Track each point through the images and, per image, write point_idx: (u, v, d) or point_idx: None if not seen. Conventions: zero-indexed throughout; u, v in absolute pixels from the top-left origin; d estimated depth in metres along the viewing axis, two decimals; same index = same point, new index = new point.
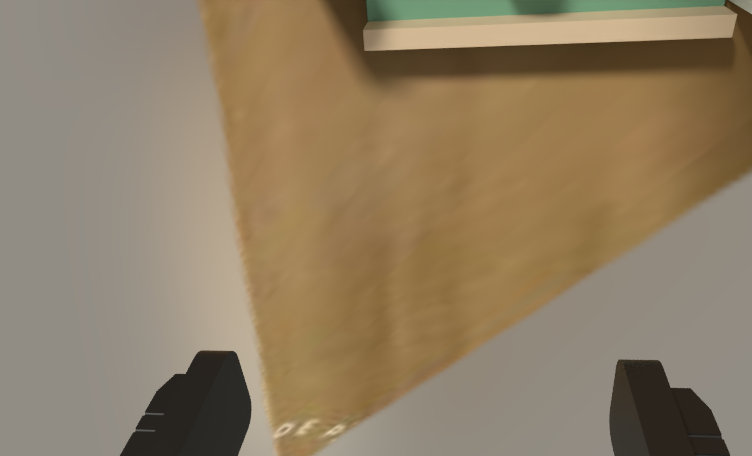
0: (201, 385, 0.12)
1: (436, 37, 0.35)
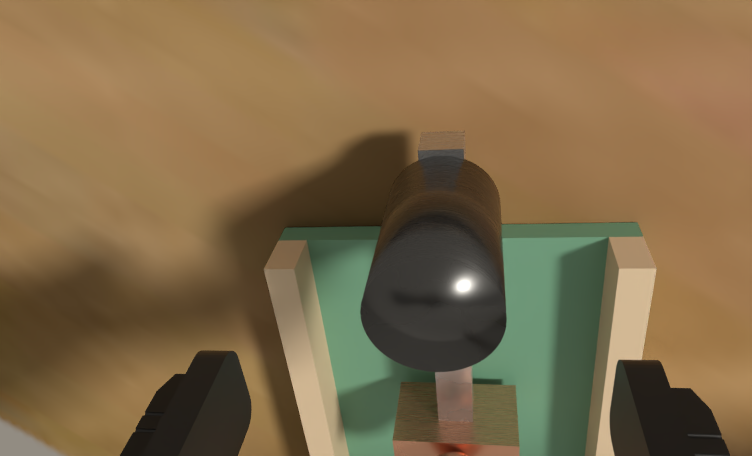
0: (201, 385, 0.12)
1: (297, 351, 0.25)
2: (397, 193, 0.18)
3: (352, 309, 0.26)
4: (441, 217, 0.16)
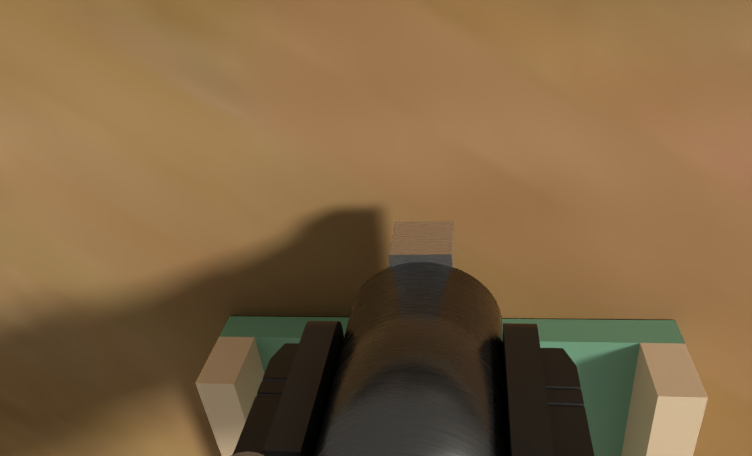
0: (317, 352, 0.12)
1: None
2: (358, 321, 0.13)
3: None
4: (417, 386, 0.10)
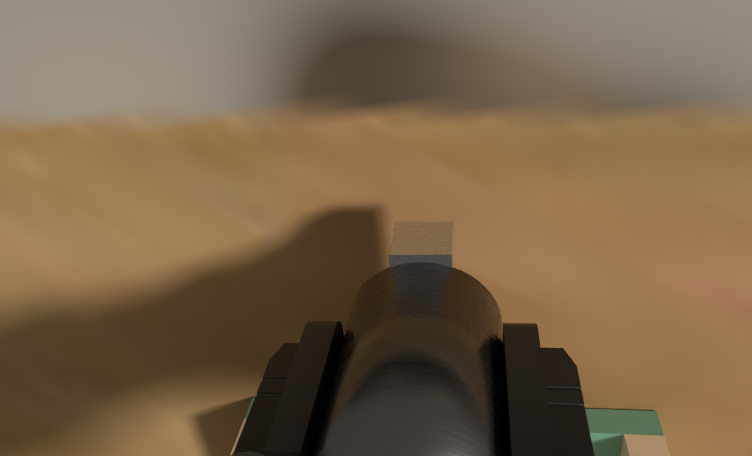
0: (317, 352, 0.12)
1: None
2: (358, 321, 0.13)
3: None
4: (417, 386, 0.10)
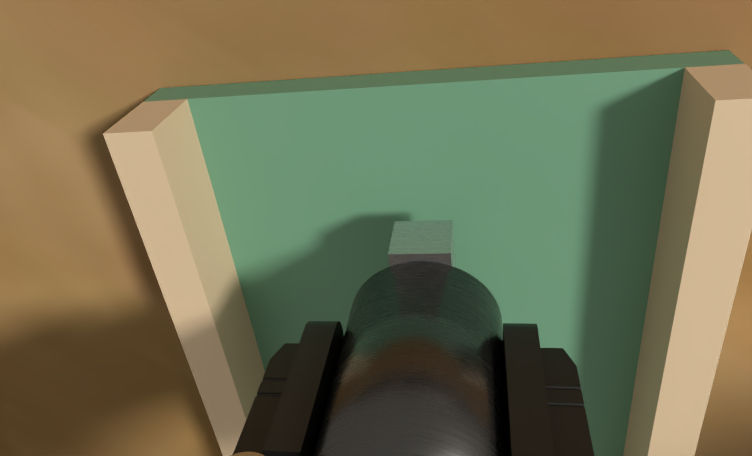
0: (317, 352, 0.12)
1: (179, 281, 0.16)
2: (358, 321, 0.13)
3: (270, 219, 0.17)
4: (416, 385, 0.10)
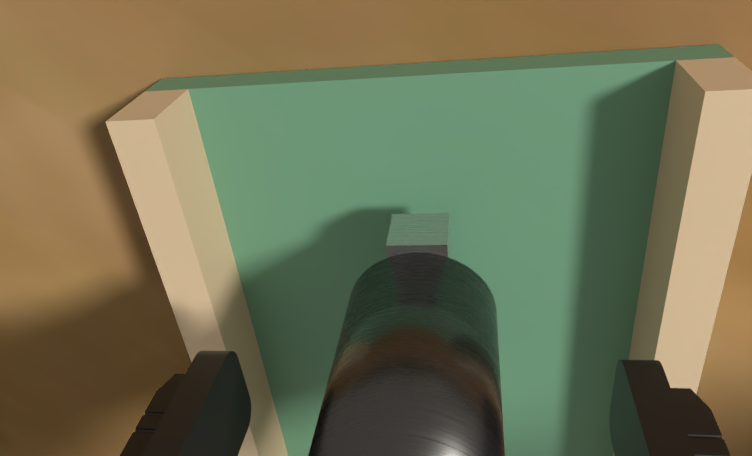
0: (201, 385, 0.12)
1: (179, 269, 0.16)
2: (356, 310, 0.13)
3: (269, 209, 0.17)
4: (413, 370, 0.11)
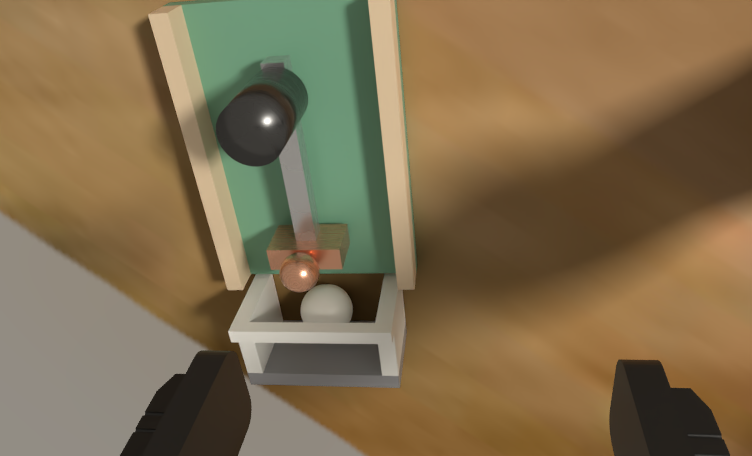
0: (201, 385, 0.12)
1: (177, 84, 0.37)
2: None
3: (218, 62, 0.38)
4: (257, 88, 0.32)
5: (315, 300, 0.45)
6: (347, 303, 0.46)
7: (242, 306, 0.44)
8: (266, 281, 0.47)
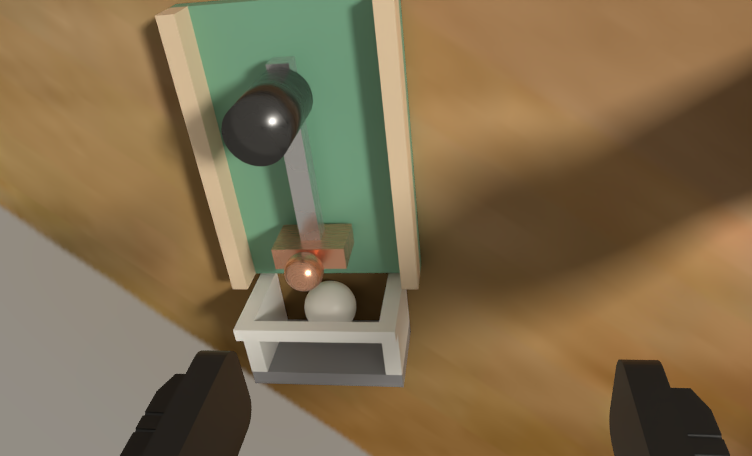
0: (201, 385, 0.12)
1: (183, 85, 0.37)
2: None
3: (223, 63, 0.38)
4: (262, 89, 0.32)
5: (320, 293, 0.45)
6: (351, 298, 0.46)
7: (247, 305, 0.45)
8: (271, 281, 0.47)
